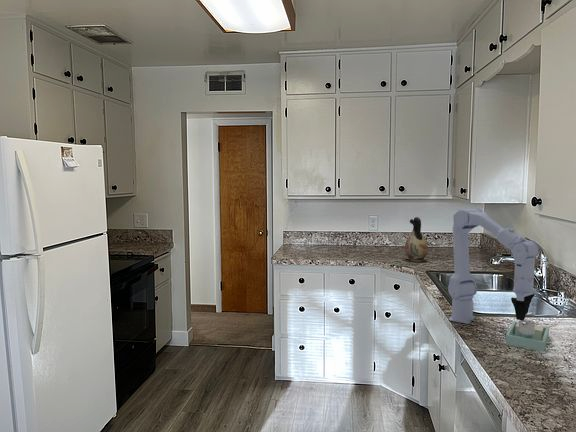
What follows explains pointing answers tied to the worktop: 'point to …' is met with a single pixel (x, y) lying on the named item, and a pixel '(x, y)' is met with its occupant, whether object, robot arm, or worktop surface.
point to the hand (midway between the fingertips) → (522, 316)
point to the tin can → (526, 329)
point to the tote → (526, 339)
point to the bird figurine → (416, 243)
